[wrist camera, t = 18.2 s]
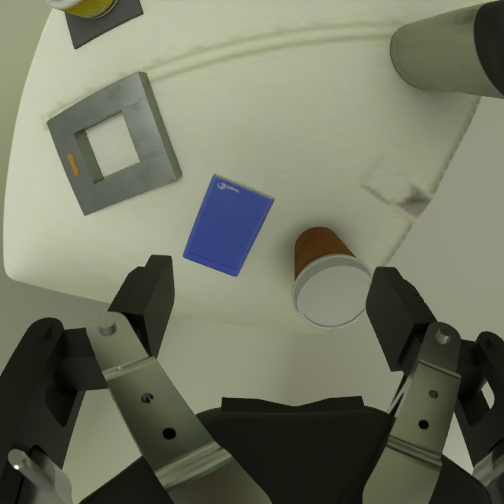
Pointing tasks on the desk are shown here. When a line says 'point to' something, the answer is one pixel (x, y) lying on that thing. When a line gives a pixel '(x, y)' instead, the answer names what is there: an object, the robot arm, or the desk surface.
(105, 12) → the pill bottle
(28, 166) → the desk surface
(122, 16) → the pad
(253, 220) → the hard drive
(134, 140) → the block
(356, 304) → the disposable coffee cup
